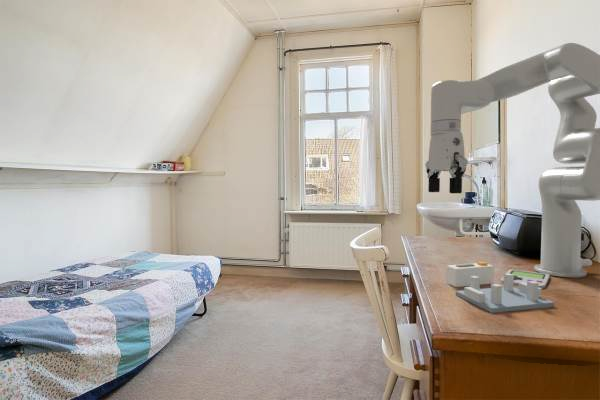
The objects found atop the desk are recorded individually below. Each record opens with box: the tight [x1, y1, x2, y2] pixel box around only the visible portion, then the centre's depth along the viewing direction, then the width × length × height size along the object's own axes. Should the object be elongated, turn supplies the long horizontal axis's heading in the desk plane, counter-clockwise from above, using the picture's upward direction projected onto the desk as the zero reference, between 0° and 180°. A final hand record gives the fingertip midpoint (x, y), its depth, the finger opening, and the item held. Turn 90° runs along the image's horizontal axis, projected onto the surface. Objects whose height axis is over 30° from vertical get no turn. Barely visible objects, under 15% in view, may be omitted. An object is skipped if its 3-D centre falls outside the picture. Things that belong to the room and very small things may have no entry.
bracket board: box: [455, 272, 555, 314], centre depth 82 cm, size 16×12×5 cm
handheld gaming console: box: [500, 268, 550, 289], centre depth 98 cm, size 10×2×15 cm
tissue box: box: [445, 261, 495, 288], centre depth 96 cm, size 12×4×6 cm, turn 103°
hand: (444, 192), depth 95 cm, fingers open, 9 cm apart
